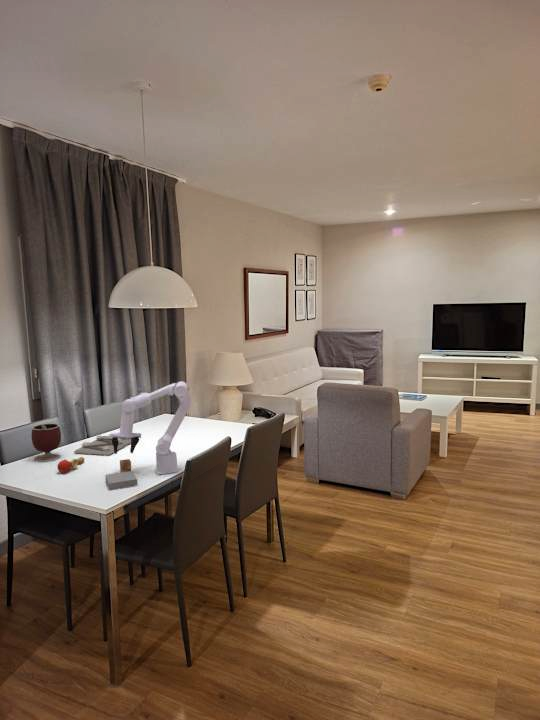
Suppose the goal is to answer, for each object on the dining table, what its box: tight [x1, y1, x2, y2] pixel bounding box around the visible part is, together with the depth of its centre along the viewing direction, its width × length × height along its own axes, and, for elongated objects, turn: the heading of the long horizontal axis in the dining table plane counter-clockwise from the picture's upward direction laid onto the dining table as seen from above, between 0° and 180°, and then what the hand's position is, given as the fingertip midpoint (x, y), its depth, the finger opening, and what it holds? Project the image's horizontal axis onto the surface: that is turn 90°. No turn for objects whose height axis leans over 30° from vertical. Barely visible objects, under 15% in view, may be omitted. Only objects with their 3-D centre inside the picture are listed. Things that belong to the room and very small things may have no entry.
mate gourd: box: [30, 422, 62, 463], centre depth 258 cm, size 16×14×20 cm
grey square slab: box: [105, 470, 138, 491], centre depth 224 cm, size 12×12×3 cm
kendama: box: [57, 456, 85, 474], centre depth 245 cm, size 8×6×18 cm
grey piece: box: [74, 434, 131, 457], centre depth 280 cm, size 30×22×7 cm
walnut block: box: [119, 458, 132, 473], centre depth 237 cm, size 4×4×6 cm
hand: (123, 452), depth 235 cm, fingers open, 7 cm apart
